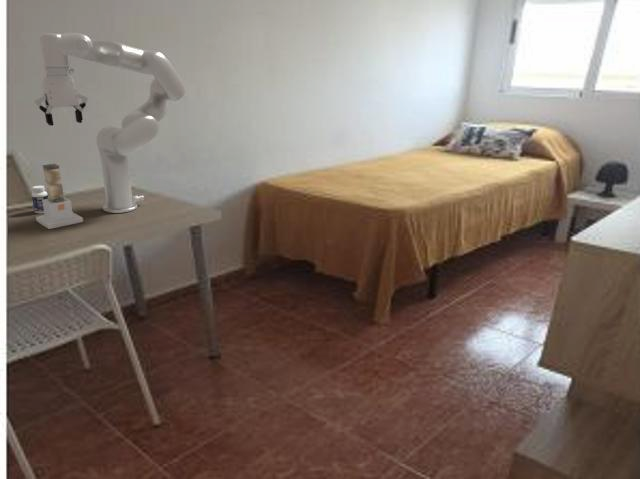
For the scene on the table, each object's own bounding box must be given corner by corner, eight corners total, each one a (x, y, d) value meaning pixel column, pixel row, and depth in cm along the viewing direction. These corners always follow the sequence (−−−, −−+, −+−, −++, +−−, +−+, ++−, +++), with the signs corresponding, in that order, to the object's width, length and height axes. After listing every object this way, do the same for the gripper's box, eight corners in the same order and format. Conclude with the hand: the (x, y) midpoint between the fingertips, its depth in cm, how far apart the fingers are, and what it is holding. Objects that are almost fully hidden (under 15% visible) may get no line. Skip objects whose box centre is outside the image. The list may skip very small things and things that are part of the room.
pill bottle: (38, 214, 200) (34, 189, 197) (31, 211, 203) (27, 187, 200) (53, 211, 204) (48, 186, 201) (45, 208, 207) (41, 184, 204)
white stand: (70, 214, 201) (66, 191, 198) (83, 221, 193) (79, 197, 190) (36, 220, 193) (32, 197, 190) (48, 229, 185) (44, 204, 182)
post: (60, 202, 194) (54, 163, 189) (65, 205, 191) (58, 165, 186) (49, 205, 191) (42, 165, 186) (53, 207, 189) (46, 167, 183)
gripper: (78, 71, 188) (85, 120, 194) (26, 72, 176) (35, 124, 182) (87, 72, 183) (94, 122, 189) (34, 74, 171) (43, 127, 178)
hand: (65, 123), depth 186 cm, fingers open, 9 cm apart
